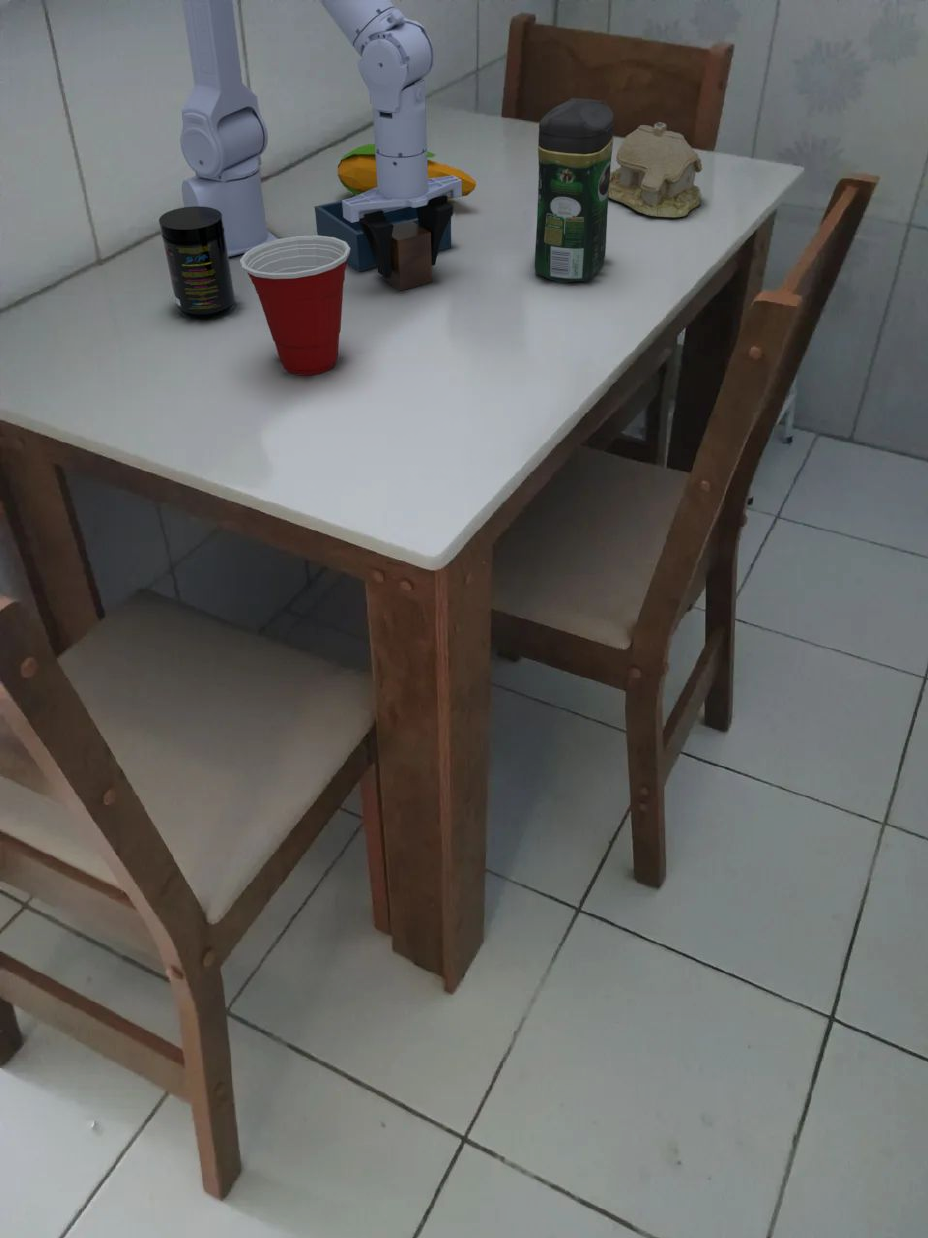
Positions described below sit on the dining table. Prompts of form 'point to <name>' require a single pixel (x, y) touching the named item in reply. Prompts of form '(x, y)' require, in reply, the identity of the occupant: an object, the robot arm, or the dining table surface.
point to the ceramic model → (656, 173)
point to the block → (410, 256)
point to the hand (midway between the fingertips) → (406, 268)
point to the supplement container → (198, 261)
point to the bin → (360, 252)
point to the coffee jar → (573, 189)
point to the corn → (362, 174)
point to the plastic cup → (301, 297)
